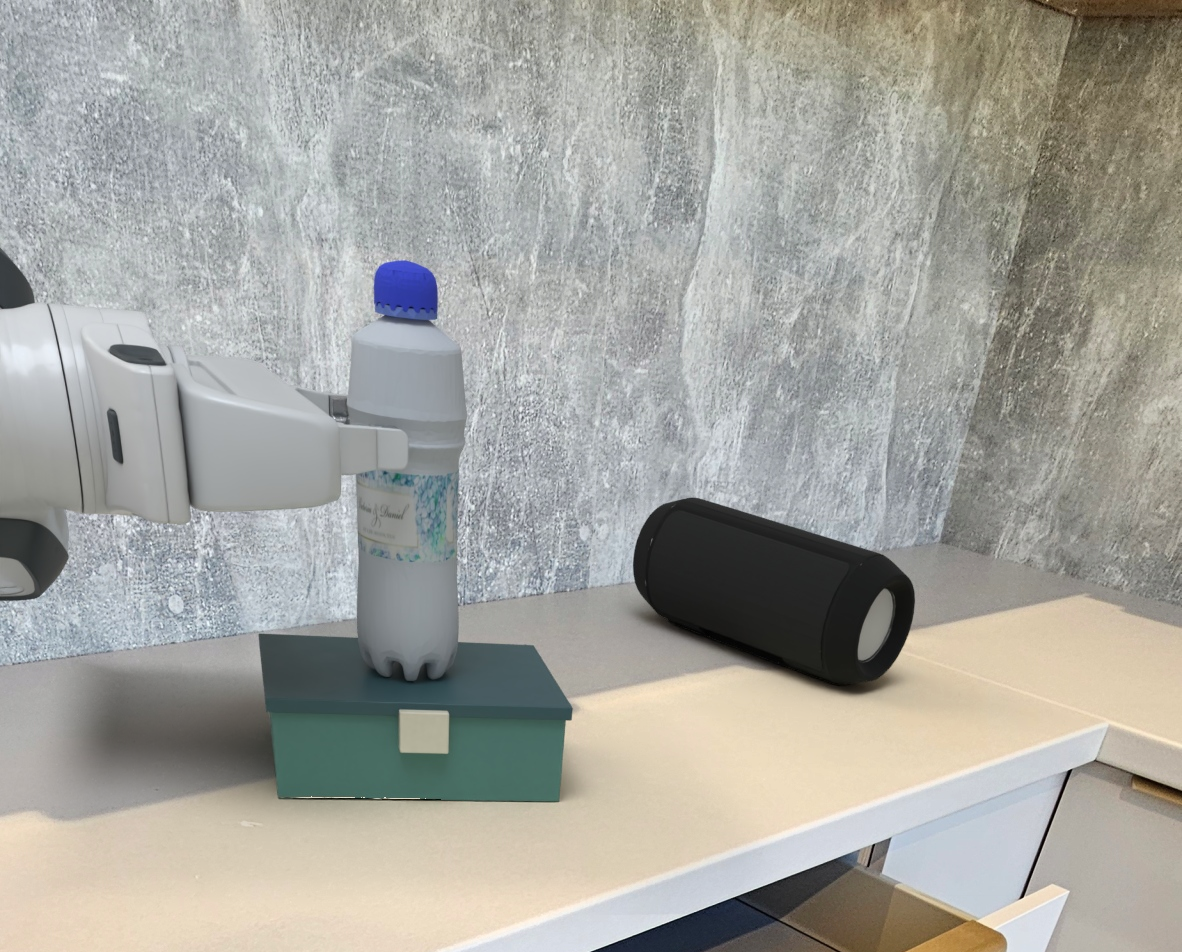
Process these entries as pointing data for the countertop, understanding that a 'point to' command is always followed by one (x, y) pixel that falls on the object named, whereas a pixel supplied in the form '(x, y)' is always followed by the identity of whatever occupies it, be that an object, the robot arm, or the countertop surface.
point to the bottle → (408, 477)
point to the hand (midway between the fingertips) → (381, 431)
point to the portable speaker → (774, 590)
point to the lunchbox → (413, 723)
